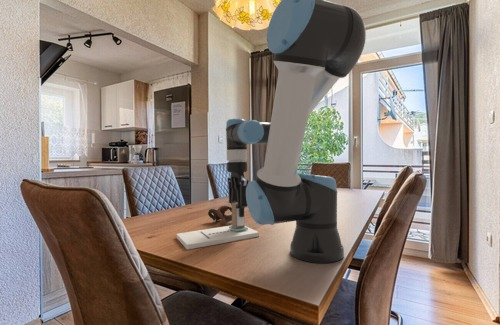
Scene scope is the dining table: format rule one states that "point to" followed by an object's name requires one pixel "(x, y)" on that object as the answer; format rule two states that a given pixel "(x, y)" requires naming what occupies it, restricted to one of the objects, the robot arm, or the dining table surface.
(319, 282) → the dining table surface
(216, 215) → the dark brown looped ring
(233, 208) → the stub
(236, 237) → the board
